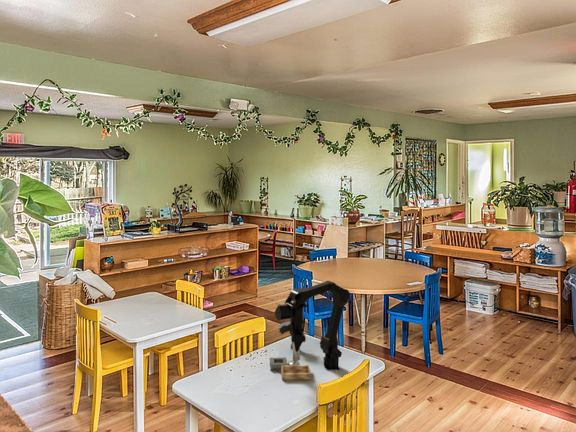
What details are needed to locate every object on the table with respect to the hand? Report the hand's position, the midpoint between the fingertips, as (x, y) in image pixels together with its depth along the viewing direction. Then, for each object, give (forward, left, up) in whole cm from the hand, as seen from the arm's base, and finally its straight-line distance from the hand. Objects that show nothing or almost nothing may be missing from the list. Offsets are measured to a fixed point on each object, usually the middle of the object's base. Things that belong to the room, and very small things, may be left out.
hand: (296, 349), depth 205 cm
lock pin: (0, 0, -5) cm, 5 cm away
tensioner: (+4, -10, -12) cm, 17 cm away
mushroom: (-2, -31, -13) cm, 34 cm away
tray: (0, 0, -13) cm, 13 cm away
